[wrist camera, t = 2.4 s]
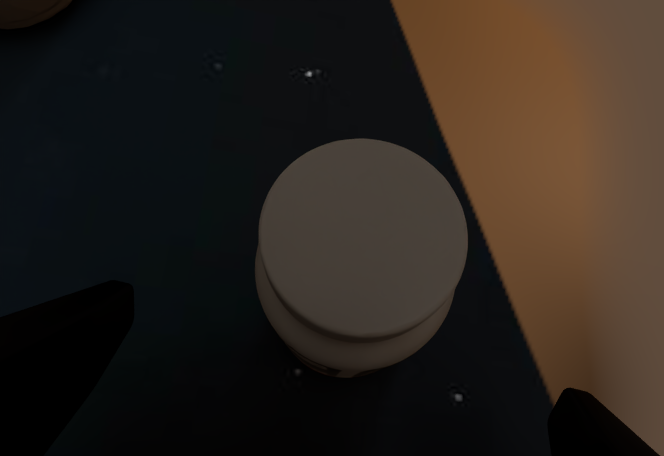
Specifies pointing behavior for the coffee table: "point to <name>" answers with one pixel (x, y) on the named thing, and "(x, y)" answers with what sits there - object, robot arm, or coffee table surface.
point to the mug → (28, 12)
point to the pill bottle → (359, 255)
